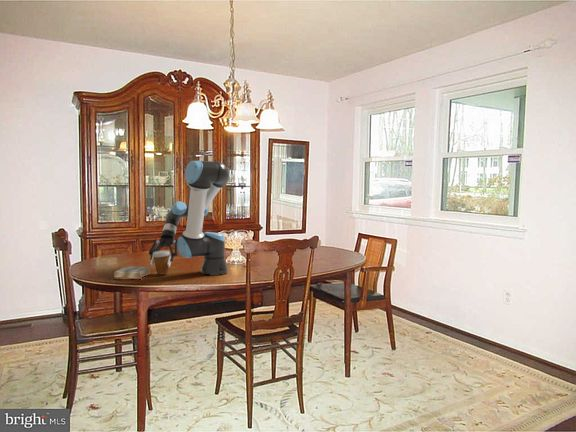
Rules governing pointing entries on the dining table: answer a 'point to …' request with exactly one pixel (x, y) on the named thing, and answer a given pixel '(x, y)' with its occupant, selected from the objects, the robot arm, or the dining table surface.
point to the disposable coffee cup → (161, 261)
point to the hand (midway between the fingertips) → (160, 265)
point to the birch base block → (132, 272)
